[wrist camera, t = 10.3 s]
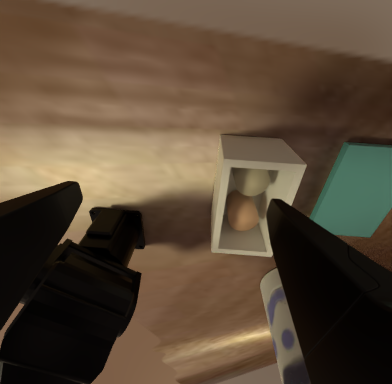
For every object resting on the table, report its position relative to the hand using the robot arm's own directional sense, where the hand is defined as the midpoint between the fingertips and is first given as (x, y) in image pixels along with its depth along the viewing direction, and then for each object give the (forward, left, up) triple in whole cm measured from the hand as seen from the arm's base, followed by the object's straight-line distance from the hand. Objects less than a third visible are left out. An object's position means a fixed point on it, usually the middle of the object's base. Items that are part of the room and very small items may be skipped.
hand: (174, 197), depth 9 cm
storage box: (-5, -6, -12) cm, 14 cm away
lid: (-5, -18, -11) cm, 22 cm away
